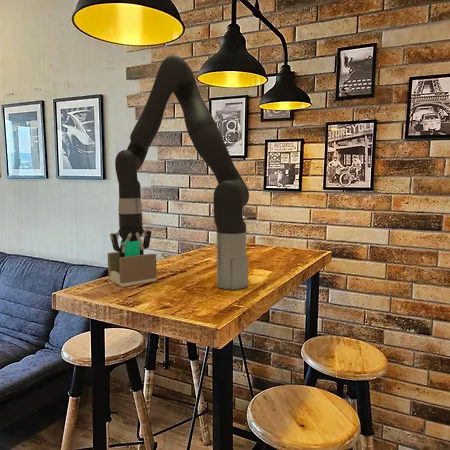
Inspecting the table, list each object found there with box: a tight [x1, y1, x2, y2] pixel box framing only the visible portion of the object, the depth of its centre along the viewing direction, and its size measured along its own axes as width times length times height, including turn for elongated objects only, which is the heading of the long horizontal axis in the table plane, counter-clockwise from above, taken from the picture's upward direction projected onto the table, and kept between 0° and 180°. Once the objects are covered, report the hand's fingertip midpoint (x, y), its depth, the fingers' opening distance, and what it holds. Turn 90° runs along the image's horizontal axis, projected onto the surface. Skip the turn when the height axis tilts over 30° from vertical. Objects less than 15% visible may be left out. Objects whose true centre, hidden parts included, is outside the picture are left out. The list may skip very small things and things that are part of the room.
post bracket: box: [107, 251, 158, 287], centre depth 138 cm, size 12×12×9 cm
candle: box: [120, 241, 140, 257], centre depth 137 cm, size 6×6×12 cm
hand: (132, 262), depth 138 cm, fingers closed on candle, 5 cm apart
